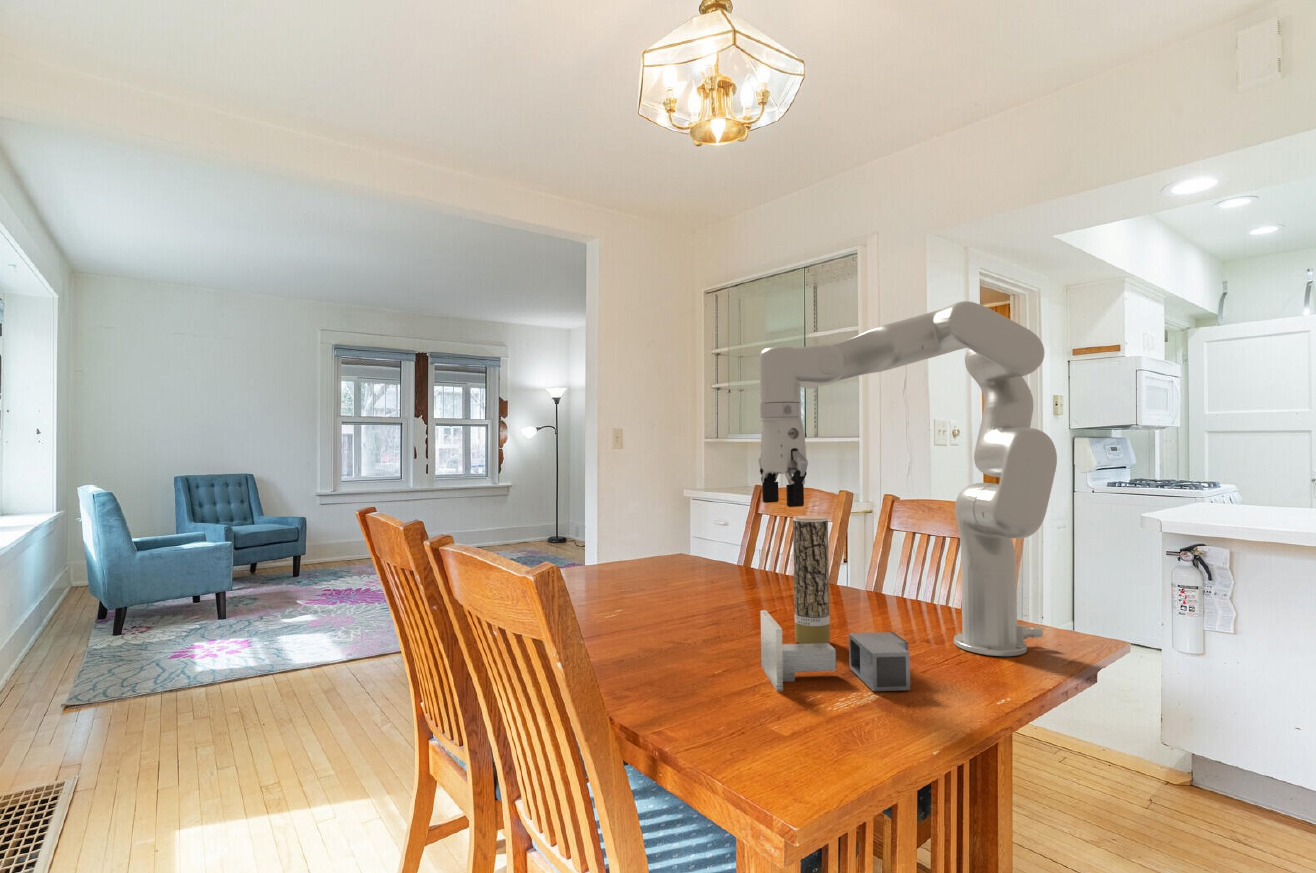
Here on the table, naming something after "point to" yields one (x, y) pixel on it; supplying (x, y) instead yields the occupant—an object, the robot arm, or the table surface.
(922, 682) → the table surface
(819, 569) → the paper tube
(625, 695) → the table surface
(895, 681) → the elbow
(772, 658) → the grey t-shaped bracket
